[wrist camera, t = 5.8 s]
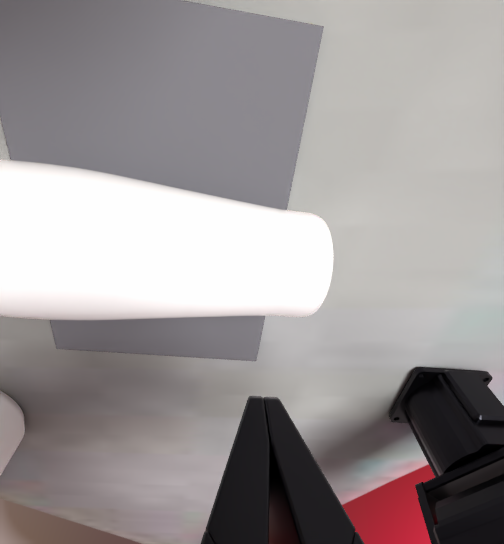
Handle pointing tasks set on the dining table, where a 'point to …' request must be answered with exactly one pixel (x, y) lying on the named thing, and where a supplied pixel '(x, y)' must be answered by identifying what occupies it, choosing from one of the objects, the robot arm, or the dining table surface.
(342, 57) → the dining table surface
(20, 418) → the alcohol
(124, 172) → the mat
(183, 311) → the drinking glass
